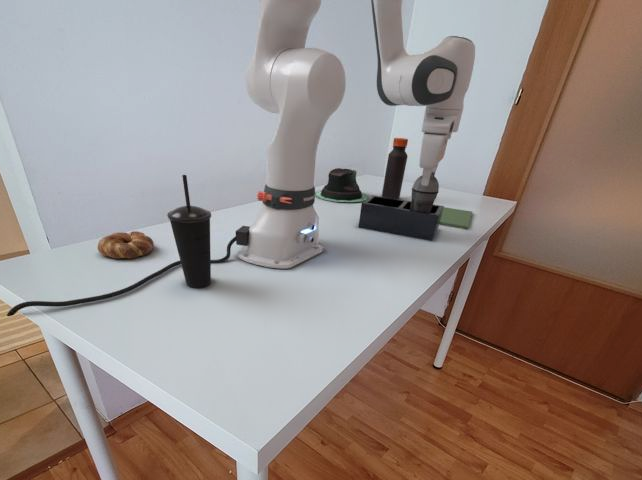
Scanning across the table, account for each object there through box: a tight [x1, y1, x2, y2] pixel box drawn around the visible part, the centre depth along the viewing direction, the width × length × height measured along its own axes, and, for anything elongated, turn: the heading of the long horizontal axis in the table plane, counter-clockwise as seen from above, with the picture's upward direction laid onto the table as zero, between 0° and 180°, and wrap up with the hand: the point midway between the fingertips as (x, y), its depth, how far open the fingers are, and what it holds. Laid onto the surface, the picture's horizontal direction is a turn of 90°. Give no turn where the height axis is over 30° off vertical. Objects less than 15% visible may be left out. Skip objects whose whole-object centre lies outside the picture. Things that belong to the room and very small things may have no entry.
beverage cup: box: [410, 174, 440, 213], centre depth 101 cm, size 7×7×20 cm
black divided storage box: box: [357, 195, 445, 242], centre depth 107 cm, size 11×22×7 cm, turn 65°
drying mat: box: [439, 206, 473, 230], centre depth 122 cm, size 20×18×1 cm
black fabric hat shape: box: [315, 167, 369, 203], centre depth 136 cm, size 15×19×20 cm
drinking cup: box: [166, 174, 212, 289], centre depth 67 cm, size 8×8×20 cm
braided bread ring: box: [97, 230, 155, 260], centre depth 83 cm, size 12×11×4 cm
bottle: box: [381, 137, 409, 199], centre depth 133 cm, size 7×7×20 cm
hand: (427, 181), depth 99 cm, fingers open, 8 cm apart
